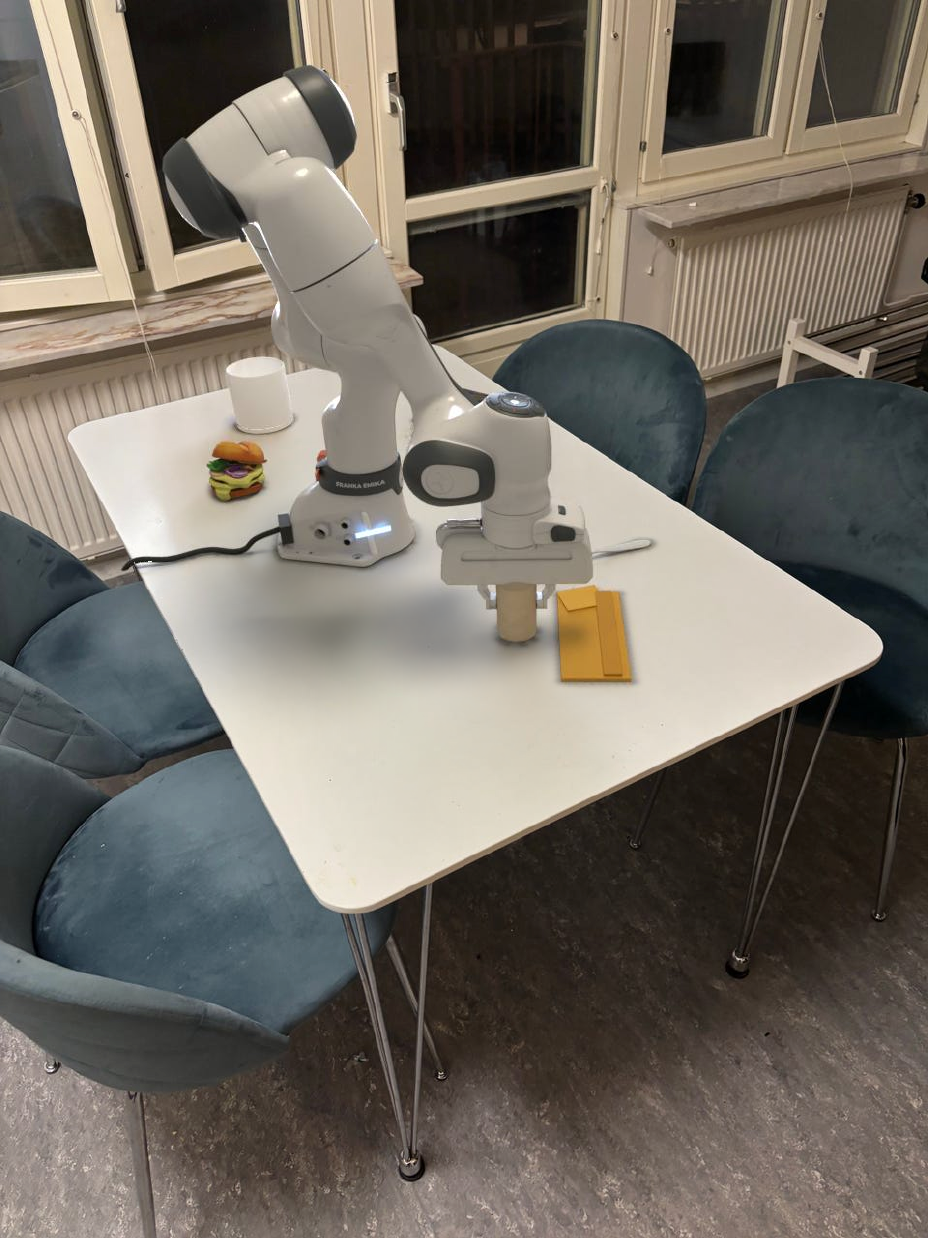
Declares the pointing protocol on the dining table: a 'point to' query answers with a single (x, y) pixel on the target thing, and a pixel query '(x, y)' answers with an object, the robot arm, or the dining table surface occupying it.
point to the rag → (592, 636)
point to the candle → (516, 611)
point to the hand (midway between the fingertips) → (516, 606)
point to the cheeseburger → (236, 469)
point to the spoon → (624, 546)
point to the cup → (260, 394)
